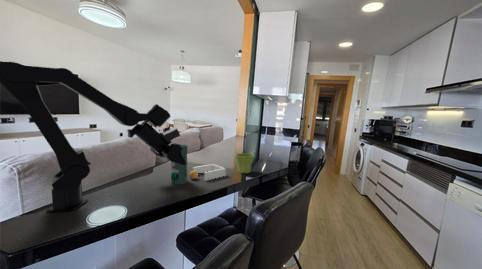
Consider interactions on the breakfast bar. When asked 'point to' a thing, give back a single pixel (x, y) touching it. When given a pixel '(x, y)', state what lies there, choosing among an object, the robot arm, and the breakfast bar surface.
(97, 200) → the breakfast bar surface
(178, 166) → the can
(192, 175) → the ball
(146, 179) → the breakfast bar surface
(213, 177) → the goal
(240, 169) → the plant pot
